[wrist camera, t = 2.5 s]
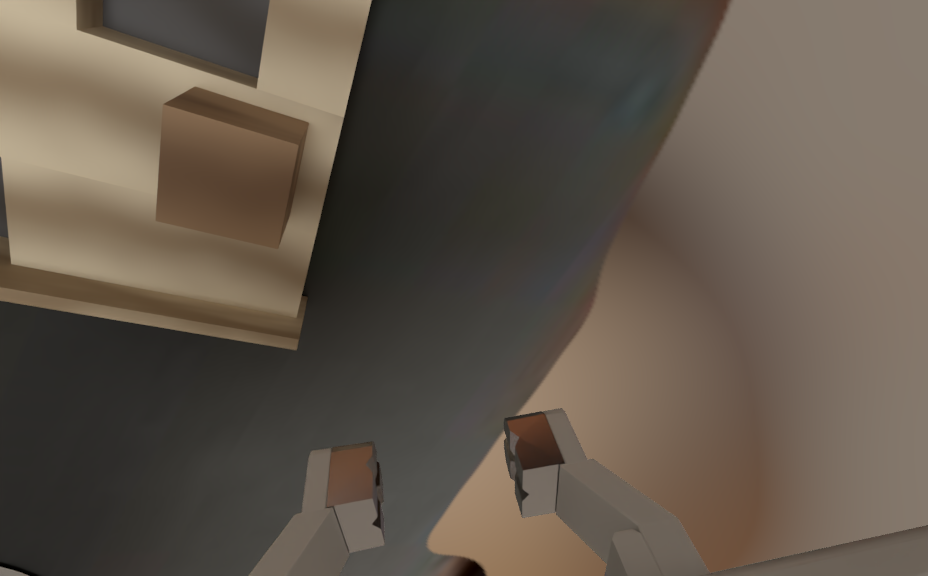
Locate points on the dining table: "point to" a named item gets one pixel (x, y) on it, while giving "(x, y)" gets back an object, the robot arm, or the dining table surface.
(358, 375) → the dining table surface
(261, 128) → the block
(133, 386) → the dining table surface
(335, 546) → the robot arm
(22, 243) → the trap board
